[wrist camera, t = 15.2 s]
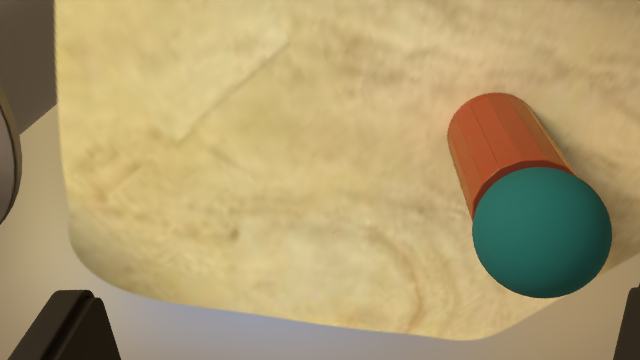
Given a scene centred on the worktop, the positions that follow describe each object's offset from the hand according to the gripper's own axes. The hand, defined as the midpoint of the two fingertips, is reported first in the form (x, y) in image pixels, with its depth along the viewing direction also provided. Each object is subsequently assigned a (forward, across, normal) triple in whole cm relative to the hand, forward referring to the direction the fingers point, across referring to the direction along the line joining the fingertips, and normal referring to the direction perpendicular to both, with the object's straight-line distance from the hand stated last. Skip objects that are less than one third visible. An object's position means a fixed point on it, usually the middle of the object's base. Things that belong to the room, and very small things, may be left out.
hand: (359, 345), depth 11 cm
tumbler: (+26, -8, +8) cm, 29 cm away
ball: (+18, -8, +8) cm, 22 cm away
